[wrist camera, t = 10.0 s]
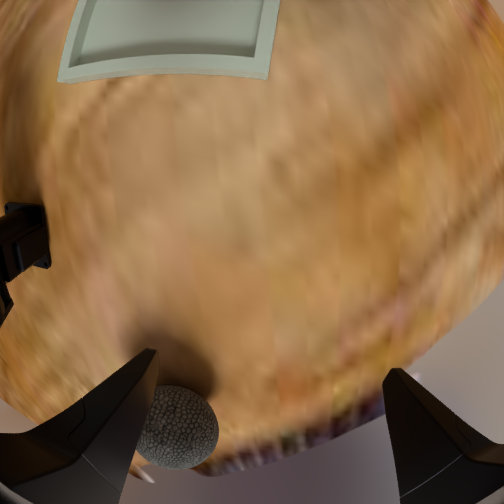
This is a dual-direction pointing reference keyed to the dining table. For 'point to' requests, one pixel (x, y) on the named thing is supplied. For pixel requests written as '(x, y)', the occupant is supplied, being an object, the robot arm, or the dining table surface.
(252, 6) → the tray
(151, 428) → the decorative ball
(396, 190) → the dining table surface
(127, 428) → the robot arm
